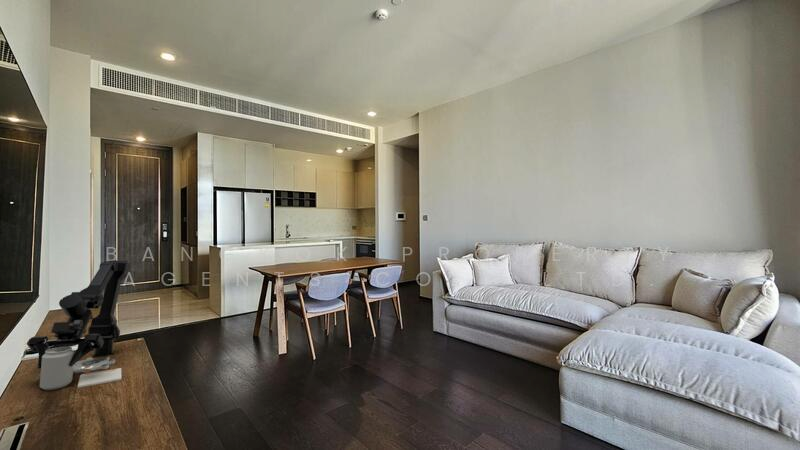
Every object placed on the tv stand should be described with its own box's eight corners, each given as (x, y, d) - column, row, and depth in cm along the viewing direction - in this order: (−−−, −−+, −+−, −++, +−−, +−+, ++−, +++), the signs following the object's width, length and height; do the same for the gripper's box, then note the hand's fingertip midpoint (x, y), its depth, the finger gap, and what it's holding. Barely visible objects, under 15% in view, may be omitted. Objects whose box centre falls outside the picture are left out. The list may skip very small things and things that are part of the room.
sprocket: (61, 364, 128) (61, 359, 128) (115, 356, 138) (115, 352, 138) (55, 378, 116) (56, 373, 116) (115, 369, 126) (115, 364, 126)
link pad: (80, 376, 118) (80, 374, 118) (121, 369, 125) (121, 367, 125) (77, 387, 110) (77, 385, 110) (121, 379, 117) (121, 377, 117)
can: (50, 392, 106) (54, 353, 107) (32, 389, 108) (36, 351, 108) (77, 382, 113) (80, 346, 114) (60, 380, 115) (63, 344, 115)
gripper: (32, 312, 112) (4, 357, 101) (102, 310, 118) (83, 352, 108) (46, 330, 119) (21, 374, 108) (111, 327, 125) (93, 368, 115)
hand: (55, 367), depth 110 cm, fingers closed on can, 7 cm apart
